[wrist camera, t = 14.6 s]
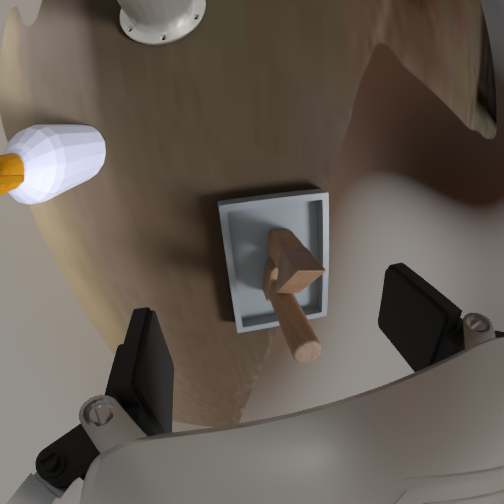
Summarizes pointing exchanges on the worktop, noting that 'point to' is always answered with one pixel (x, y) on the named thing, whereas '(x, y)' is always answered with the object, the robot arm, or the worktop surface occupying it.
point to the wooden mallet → (291, 291)
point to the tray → (256, 254)
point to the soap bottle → (50, 161)
